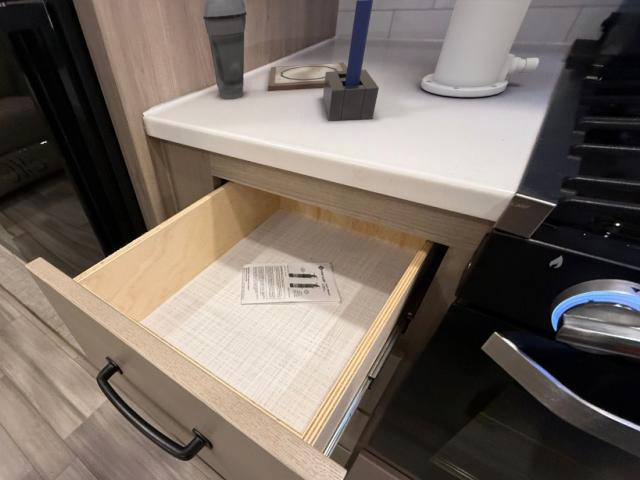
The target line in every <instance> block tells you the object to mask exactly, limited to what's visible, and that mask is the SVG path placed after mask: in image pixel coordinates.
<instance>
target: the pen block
mask: <svg viewBox="0 0 640 480" xmlns="http://www.w3.org/2000/svg"><path fill="white" fill-rule="evenodd" d="M346 73H347V71H333V72H326V74H325V84H324V87H323V94H322V100H323V104H324V108H325V113H326V116H327V120H328V121H329V122H331V121H332V122H333V121H334V122H335V121H354V120H355V121H356V120H372V119H373V118H374V114H375V109H376V104H377V99H378V95H379V94H378V93H379V89H380V87H379V86H378V84H377V83H376V82H375V80H374V79H373V77H372V76H371V74H370V73H369V72H368V71H367V69H366V68H365V69H362V70H361V76H360V82H359V85H356V86H345V81H346Z"/></svg>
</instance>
